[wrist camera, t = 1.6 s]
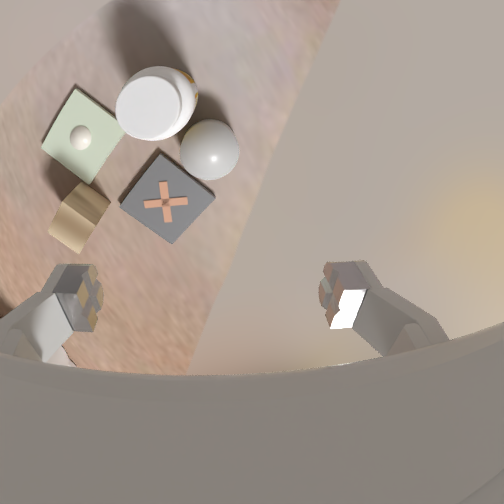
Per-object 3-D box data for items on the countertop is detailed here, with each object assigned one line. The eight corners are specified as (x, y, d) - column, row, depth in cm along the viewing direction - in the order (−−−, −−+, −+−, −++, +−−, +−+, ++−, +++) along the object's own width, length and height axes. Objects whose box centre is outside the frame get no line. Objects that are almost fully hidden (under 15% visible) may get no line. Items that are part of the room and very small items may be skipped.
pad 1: (91, 182, 25) (88, 185, 25) (43, 146, 22) (40, 148, 21) (129, 127, 23) (127, 129, 22) (77, 88, 20) (74, 89, 19)
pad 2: (172, 241, 31) (171, 244, 30) (120, 204, 27) (118, 207, 27) (215, 195, 28) (215, 198, 28) (160, 152, 25) (159, 154, 24)
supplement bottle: (132, 81, 21) (92, 86, 13) (189, 60, 20) (177, 50, 12) (150, 133, 24) (121, 163, 16) (205, 113, 24) (203, 133, 16)
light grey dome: (211, 179, 27) (211, 190, 25) (171, 147, 25) (167, 155, 23) (247, 142, 26) (251, 150, 23) (208, 108, 23) (207, 111, 21)
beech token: (93, 228, 28) (78, 254, 24) (66, 208, 26) (47, 231, 22) (111, 202, 27) (95, 225, 23) (82, 180, 25) (62, 201, 21)
